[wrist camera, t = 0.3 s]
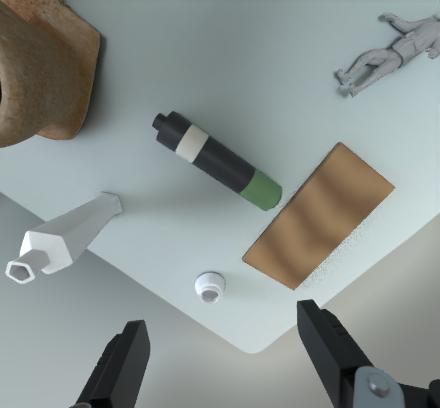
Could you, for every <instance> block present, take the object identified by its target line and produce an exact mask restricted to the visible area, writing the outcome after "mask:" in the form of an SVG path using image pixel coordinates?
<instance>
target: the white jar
mask: <svg viewBox="0 0 440 408" xmlns="http://www.w3.org/2000/svg"><path fill="white" fill-rule="evenodd" d="M195 289H196V291H197V293H198V295H199V297H200V298H201V300H202V301H203V302H205V303H207V304H213V303H215V302H217V301H218V300H219V298H220V297H221V295H222V293H223V292H224V290H225V281H224V279H223V278H222V277H221V276H220V275H218V274H215V273H206V274H202V275H201V276H200V277H198V279H197V280H196V282H195Z"/></svg>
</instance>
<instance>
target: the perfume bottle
mask: <svg viewBox="0 0 440 408" xmlns="http://www.w3.org/2000/svg"><path fill="white" fill-rule="evenodd" d="M121 212H122V207H121V203H120V200H119V197H118V196H117V195H113V194H107V193H100V194H99V195H98V197H97V198H96V199H95V200H93V201H91V202H89V203H86V204H84V205H82V206H80V207H78V208H76V209H74V210H72V211H69V212H67V213H65V214H63V215H61V216H59V217H57V218H55V219H52V220H50V221H48V222H46V223H44V224H42V225H40V226H38V227H35V228H34V229H31V230H29V231H27V232H26V234H25V237H24V241H23V244H22V248H21V251H20V256H21V257H19V258H18V259H16V260H15V261H10V262H9V263H8V265H7V269H6V275H7V276H8V277H10V278H12V279H13V280H15V281H16V282H18V283H20V284H24V283H27V282H29V281H31V280H33V279H35V276H36V275H37V274H38V273H39V272H40V271H43V272H44V273H46V274H51V273H53V272H56V271H58V270H60V269H62V268H65V267H67V266H70V265H72V264H73V263H74V261H75V260H76V259H77V258H78V257H79V255H80V254H81V253H82V252H83V251H84V250H85V249H86V248H87V246H88V245H89V244H90V243H91V242H92V241H93V239H94V238H95V237H96V236H97V235H98V234H99V232H100V231H101V230H102V229H103V228H104V227H105V225H106V224H107V223H108V222H109V221H110V220H111V218H112V217H113V216H114V215H116V214H118V213H121Z"/></svg>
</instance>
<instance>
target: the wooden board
mask: <svg viewBox="0 0 440 408" xmlns="http://www.w3.org/2000/svg"><path fill="white" fill-rule="evenodd" d="M394 189H395V187H394V186H393V185H392V184H391V183H390V182H388V181H387V180H386V179H385V178H384V177H382V176H381V175H380V174H379V173H378V172H376V171H375V170H374V169H373V168H372V167H370V166H369V165H368V164H367V163H366V162H364V161H363V160H362V159H361V158H360V157H358V156H357V155H356V154H355V153H354V152H352V151H351V150H350V149H349V148H348V147H346V146H345V145H344V144H343V143H340V142H339V143H338V144H337V145H336V146H335V147H334V148H333V150H332V151H331V152H330V153H329V154H328V156H327V157H326V158H325V159H324V160H323V162H322V163H321V164H320V165H319V166H318V168H317V169H316V170H315V171H314V172H313V174H312V175H311V176H310V177H309V178H308V180H307V181H306V182H305V183H304V184H303V186H302V187H301V188H300V189H299V190H298V192H297V193H296V194H295V195H294V196H293V198H292V199H291V200H290V201H289V202H288V204H287V205H286V206H285V207H284V208H283V210H282V211H281V212H280V213H279V214H278V216H277V217H276V218H275V219H274V220H273V222H272V223H271V224H270V225H269V226H268V228H267V229H266V230H265V231H264V232H263V234H262V235H261V236H260V237H259V238H258V240H257V241H256V242H255V243H254V244H253V246H252V247H251V248H250V249H249V250H248V252H247V253H246V254H245V255H244V256H243V258H242V261H243V262H245V263H247V264H249V265H250V266H252V267H254V268H256V269H257V270H259V271H261V272H263V273H264V274H266V275H268V276H270V277H271V278H273V279H275V280H276V281H278V282H280V283H282V284H283V285H285V286H287V287H289V288H290V289H292V290H295V289H296V288H297V287H298V286H299V285H300V284H301V283H302V282H303V281H304V280H305V279H306V278H307V277H308V276H309V275H310V274H311V273H312V272H313V271H314V270H315V269H316V268H317V267H318V266H319V265H320V264H321V263H322V262H323V261H324V260H325V259H326V258H327V257H328V256H329V254H330V253H331V252H332V251H333V250H334V249H335V248H336V247H337V246H338V245H339V244H340V243H341V242H342V241H343V240H344V239H345V238H346V237H347V236H348V235H349V234H350V233H351V232H352V231H353V230H354V229H355V228H356V227H357V226H358V225H359V224H360V223H361V222H362V221H363V220H364V219H365V218H366V217H367V216H368V215H369V214H370V213H371V212H372V211H373V210H374V209H375V208H376V207H377V206H378V205H379V204H380V203H381V202H382V201H383V200H384V199H385V198H386V197H387V196H388V195H389V194H390V193H391V192H392V191H393V190H394Z"/></svg>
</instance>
